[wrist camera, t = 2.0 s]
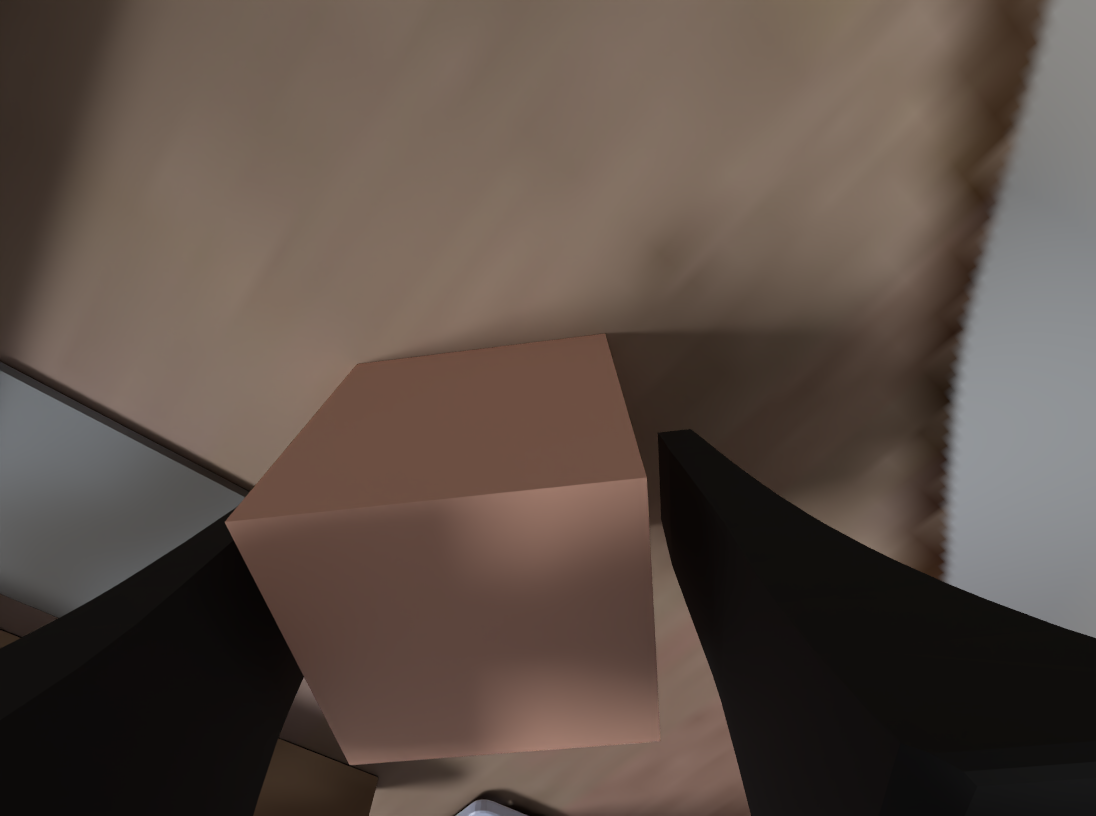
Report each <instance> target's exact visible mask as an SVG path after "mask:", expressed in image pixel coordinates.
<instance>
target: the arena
mask: <svg viewBox="0 0 1096 816" xmlns="http://www.w3.org/2000/svg"><path fill="white" fill-rule="evenodd" d="M248 493H249V491H247V490H245V489H243V488H241V487H239V486H237V485H235V484H233V483H231V482H229V481H227V480H226V479H224V478H222V477H220V476H218V475H216V474H214V473H212V472H210V471H208V470H206V469H205V468H203V467H201V466H199V465H197V464H195V463H193V462H191V461H189V460H187V459H185V458H183V457H182V456H180V455H178V454H176V453H174V452H172V451H170V450H168V449H166V448H164V447H162V446H161V445H159V444H157V443H155V442H153V441H151V440H149V439H147V438H145V437H143V436H141V435H139V434H138V433H136V432H134V431H132V430H130V429H128V428H126V427H124V426H122V425H120V424H118V423H117V422H115V421H113V420H111V419H109V418H107V417H105V416H103V415H101V414H99V413H97V412H95V411H94V410H92V409H90V408H88V407H86V406H84V405H82V404H80V403H78V402H76V401H74V400H73V399H71V398H69V397H67V396H65V395H63V394H61V393H59V392H57V391H55V390H53V389H51V388H50V387H48V386H46V385H44V384H42V383H40V382H38V381H36V380H34V379H32V378H30V377H29V376H27V375H25V374H23V373H21V372H19V371H17V370H15V369H13V368H11V367H9V366H7V365H6V364H4V363H2V362H0V594H2V595H4V596H7V597H9V598H11V599H14V600H16V601H19V602H21V603H24V604H26V605H29V606H31V607H33V608H36V609H38V610H41V611H43V612H46V613H48V614H51V615H53V616H56V617H58V618H60V617H62V616H64V615H65V614H67V613H69V612H71V611H73V610H74V609H76V608H78V607H80V606H82V605H83V604H85V603H87V602H89V601H91V600H92V599H94V598H96V597H97V596H99V595H101V594H103V593H104V592H106V591H108V590H109V589H111V588H113V587H114V586H116V585H118V584H119V583H121V582H123V581H124V580H126V579H128V578H129V577H131V576H132V575H134V574H135V573H137V572H139V571H140V570H142V569H143V568H145V567H146V566H148V565H150V564H151V563H153V562H154V561H156V560H157V559H159V558H160V557H162V556H164V555H165V554H167V553H168V552H170V551H171V550H173V549H175V548H176V547H178V546H179V545H181V544H182V543H184V542H185V541H187V540H188V539H190V538H191V537H193V536H194V535H196V534H197V533H199V532H200V531H202V530H203V529H205V528H206V527H208V526H209V525H211V524H212V523H214V522H215V521H217V520H218V519H220V518H221V517H222V516H224V515H225V514H227V513H228V512H230V511H231V510H233V509H234V508H236V507H237V506H238V505H239V504H240V503H241V502H242V501H243V499H244V498H245V497H246V496H247V495H248ZM18 639H20V637H17V636H14V635H12V634H9V633H7V632H4V631H2V630H0V648H2V647H4V646H6V645H8V644H10V643H12V642H14V641H16V640H18ZM377 782H378V777H376V776H373V775H370V774H368V773H365V772H363V771H360V770H358V769H355V768H352V767H350V766H347V765H345V764H342V763H340V762H337V761H335V760H332V759H329V758H327V757H324V756H322V755H319V754H317V753H314V752H311V751H309V750H306V749H304V748H301V747H299V746H296V745H294V744H291V743H288V742H286V741H283V740H281V739H278V740H277V743H276V746H275V749H274V752H273V755H272V758H271V761H270V764H269V768H268V771H267V774H266V777H265V780H264V783H263V786H262V789H261V792H260V795H259V798H258V801H257V805H256V808H255V812H254V815H253V816H369V812H370V809H371V805H372V801H373V797H374V793H375V789H376V786H377Z"/></svg>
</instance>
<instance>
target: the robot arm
mask: <svg viewBox="0 0 1096 816" xmlns="http://www.w3.org/2000/svg"><path fill="white" fill-rule="evenodd" d="M658 448H659V474H660V500H661V520H662V524H663V529H664V533H665V537H666V542H667V546H668V550H669V554H670V558H671V562H672V566H673V569H674V571H675V574H676V577H677V580H678V583H679V585H680V588H681V591H682V593H683V596H684V599H685V602H686V604H687V607H688V610H689V612H690V615H691V618H692V620H693V623H694V626H695V629H696V631H697V634H698V637H699V639H700V642H701V645H702V647H703V650H704V653H705V655H706V658H707V661H708V663H709V666H710V669H711V672H712V674H713V677H714V680H715V684H716V687H717V690H718V693H719V696H720V699H721V702H722V706H723V710H724V713H725V717H726V721H727V725H728V728H729V732H730V736H731V740H732V743H733V747H734V751H735V754H736V758H737V762H738V766H739V770H740V774H741V778H742V781H743V785H744V789H745V793H746V797H747V801H748V805H749V809H750V813H751V816H1096V638H1093V637H1090V636H1087V635H1084V634H1081V633H1078V632H1074V631H1072V630H1068V629H1065V628H1062V627H1060V626H1057V625H1054V624H1051V623H1048V622H1046V621H1043V620H1040V619H1038V618H1035V617H1032V616H1029V615H1027V614H1024V613H1021V612H1019V611H1016V610H1013V609H1010V608H1008V607H1005V606H1002V605H1000V604H997V603H995V602H992V601H989V600H987V599H984V598H981V597H979V596H977V595H974V594H972V593H969V592H967V591H964V590H961V589H959V588H957V587H954V586H952V585H950V584H947V583H945V582H942V581H940V580H938V579H936V578H934V577H931V576H929V575H927V574H925V573H922V572H920V571H918V570H916V569H913V568H911V567H909V566H907V565H904V564H902V563H900V562H898V561H896V560H893V559H891V558H889V557H887V556H885V555H883V554H881V553H879V552H877V551H875V550H873V549H871V548H869V547H867V546H865V545H863V544H861V543H859V542H858V541H856V540H854V539H852V538H850V537H848V536H846V535H844V534H843V533H841V532H839V531H837V530H835V529H833V528H831V527H829V526H828V525H826V524H824V523H823V522H821V521H819V520H817V519H816V518H814V517H812V516H811V515H809V514H807V513H806V512H804V511H803V510H801V509H799V508H798V507H796V506H795V505H793V504H792V503H790V502H788V501H787V500H785V499H784V498H782V497H781V496H779V495H778V494H776V493H775V492H773V491H772V490H770V489H769V488H767V487H766V486H764V485H763V484H761V483H760V482H759V481H757V480H756V479H754V478H753V477H752V476H750V475H749V474H748V473H746V472H745V471H743V470H742V469H741V468H739V467H738V466H737V465H736V464H734V463H733V462H732V461H730V460H729V459H728V458H726V457H725V456H724V455H723V454H721V453H720V452H719V451H717V450H716V449H715V448H714V447H712V446H711V445H710V444H709V443H707V442H706V441H705V440H704V439H702V438H701V437H700V436H699V435H697V434H696V433H695V432H694V431H692V430H691V429H688V430H679V431H670V432H661V433H658ZM237 507H238V506H237ZM237 507H236V508H237ZM236 508H234V509H233V510H231V511H230V512H228V513H227V514H225V515H224V516H222V517H221V518H220V519H218V520H217V521H215V522H214V523H212V524H211V525H209V526H208V527H206V528H205V529H203V530H202V531H200V532H199V533H197V534H196V535H194V536H193V537H191V538H190V539H188V540H187V541H185V542H184V543H182V544H181V545H179V546H178V547H176V548H175V549H173V550H171V551H170V552H168V553H167V554H165V555H164V556H162V557H160V558H159V559H157V560H156V561H154V562H153V563H151V564H150V565H148V566H146V567H145V568H143V569H142V570H140V571H139V572H137V573H135V574H134V575H132V576H131V577H129V578H128V579H126V580H124V581H123V582H121V583H119V584H118V585H116V586H114V587H113V588H111V589H109V590H108V591H106V592H104V593H103V594H101V595H99V596H97V597H96V598H94V599H92V600H91V601H89V602H87V603H85V604H83V605H82V606H80V607H78V608H76V609H74V610H73V611H71V612H69V613H67V614H65V615H64V616H62V617H60V618H58V619H56V620H55V621H53V622H51V623H49V624H47V625H45V626H43V627H42V628H40V629H38V630H36V631H34V632H32V633H30V634H28V635H26V636H24V637H22V638H20V639H18V640H16V641H14V642H12V643H10V644H8V645H6V646H4V647H2V648H0V816H253V815H254V812H255V808H256V805H257V801H258V798H259V795H260V792H261V789H262V786H263V783H264V780H265V777H266V774H267V771H268V768H269V764H270V761H271V758H272V755H273V752H274V749H275V746H276V743H277V740H278V737H279V735H280V732H281V730H282V727H283V724H284V722H285V719H286V717H287V714H288V712H289V709H290V707H291V705H292V703H293V700H294V698H295V696H296V693H297V691H298V689H299V687H300V684H301V682H302V680H303V677H304V676H303V674H302V672H301V670H300V668H299V666H298V664H297V662H296V660H295V658H294V656H293V654H292V652H291V650H290V648H289V646H288V644H287V643H286V641H285V639H284V637H283V635H282V633H281V631H280V629H279V627H278V625H277V623H276V621H275V619H274V617H273V615H272V613H271V611H270V610H269V608H268V606H267V604H266V602H265V600H264V598H263V596H262V594H261V592H260V590H259V588H258V586H257V584H256V582H255V580H254V578H253V577H252V575H251V573H250V571H249V569H248V567H247V565H246V563H245V561H244V559H243V557H242V555H241V553H240V551H239V549H238V547H237V545H236V544H235V542H234V540H233V538H232V536H231V534H230V532H229V530H228V528H227V526H226V524H225V521H226V520H227V519H228V517H229V516H230V515H231V514H232V513H233V511H234V510H235V509H236ZM456 816H528V815H526V814H523V813H521V812H518V811H516V810H513V809H511V808H509V807H506V806H504V805H501V804H499V803H496V802H494V801H491V800H487V799H481V800H476V801H474V802H473V803H471V804H470V805H469V806H467V807H466V808H465V809H464V810H462V811H461V812H460V813H458V814H457V815H456Z"/></svg>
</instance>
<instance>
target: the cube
mask: <svg viewBox="0 0 1096 816" xmlns="http://www.w3.org/2000/svg"><path fill="white" fill-rule="evenodd" d="M225 524H226V526H227V528H228V530H229V532H230V534H231V536H232V538H233V540H234V542H235V544H236V545H237V547H238V549H239V551H240V553H241V555H242V557H243V559H244V561H245V563H246V565H247V567H248V569H249V571H250V573H251V575H252V577H253V578H254V580H255V582H256V584H257V586H258V588H259V590H260V592H261V594H262V596H263V598H264V600H265V602H266V604H267V606H268V608H269V610H270V611H271V613H272V615H273V617H274V619H275V621H276V623H277V625H278V627H279V629H280V631H281V633H282V635H283V637H284V639H285V641H286V643H287V644H288V646H289V648H290V650H291V652H292V654H293V656H294V658H295V660H296V662H297V664H298V666H299V668H300V670H301V672H302V674H303V676H304V678H305V679H306V681H307V683H308V685H309V687H310V689H311V691H312V693H313V695H314V697H315V699H316V701H317V703H318V705H319V707H320V709H321V711H322V712H323V714H324V716H325V718H326V720H327V722H328V724H329V726H330V728H331V730H332V732H333V734H334V736H335V738H336V740H337V742H338V744H339V745H340V747H341V749H342V751H343V753H344V755H345V757H346V759H347V761H348V763H349V765H359V764H372V763H385V762H398V761H411V760H424V759H437V758H450V757H463V756H476V755H489V754H502V753H515V752H528V751H541V750H554V749H567V748H580V747H593V746H606V745H619V744H632V743H645V742H658V741H661V739H660V720H659V701H658V682H657V663H656V644H655V625H654V605H653V586H652V567H651V548H650V529H649V510H648V490H647V476H646V473H645V469H644V466H643V463H642V459H641V456H640V452H639V449H638V445H637V442H636V438H635V435H634V432H633V428H632V425H631V421H630V418H629V414H628V411H627V407H626V404H625V401H624V397H623V394H622V390H621V387H620V383H619V380H618V376H617V373H616V370H615V366H614V363H613V359H612V356H611V352H610V349H609V345H608V342H607V339H606V335H605V334H597V335H589V336H581V337H573V338H565V339H557V340H548V341H540V342H532V343H524V344H516V345H508V346H500V347H492V348H483V349H475V350H467V351H459V352H451V353H443V354H435V355H427V356H419V357H410V358H402V359H394V360H386V361H378V362H370V363H362V364H357V365H356V366H355V367H354V368H353V369H352V371H351V372H350V373H349V374H348V375H347V377H346V378H345V379H344V380H343V381H342V383H341V384H340V385H339V386H338V387H337V389H336V390H335V391H334V392H333V393H332V394H331V396H330V397H329V398H328V399H327V400H326V402H325V403H324V404H323V405H322V406H321V408H320V409H319V410H318V411H317V412H316V414H315V415H314V416H313V417H312V418H311V420H310V421H309V422H308V423H307V424H306V426H305V427H304V428H303V429H302V430H301V431H300V433H299V434H298V435H297V436H296V437H295V439H294V440H293V441H292V442H291V443H290V445H289V446H288V447H287V448H286V449H285V451H284V452H283V453H282V454H281V455H280V457H279V458H278V459H277V460H276V461H275V462H274V464H273V465H272V466H271V467H270V468H269V470H268V471H267V472H266V473H265V474H264V476H263V477H262V478H261V479H260V480H259V482H258V483H257V484H256V485H255V486H254V488H253V489H252V490H251V491H250V492H249V493H248V495H247V496H246V497H245V498H244V499H243V501H242V502H241V503H240V504H239V505H238V507H237V508H236V509H235V510H234V511H233V513H232V514H231V515H230V516H229V517H228V519H227V520H226V521H225Z"/></svg>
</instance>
